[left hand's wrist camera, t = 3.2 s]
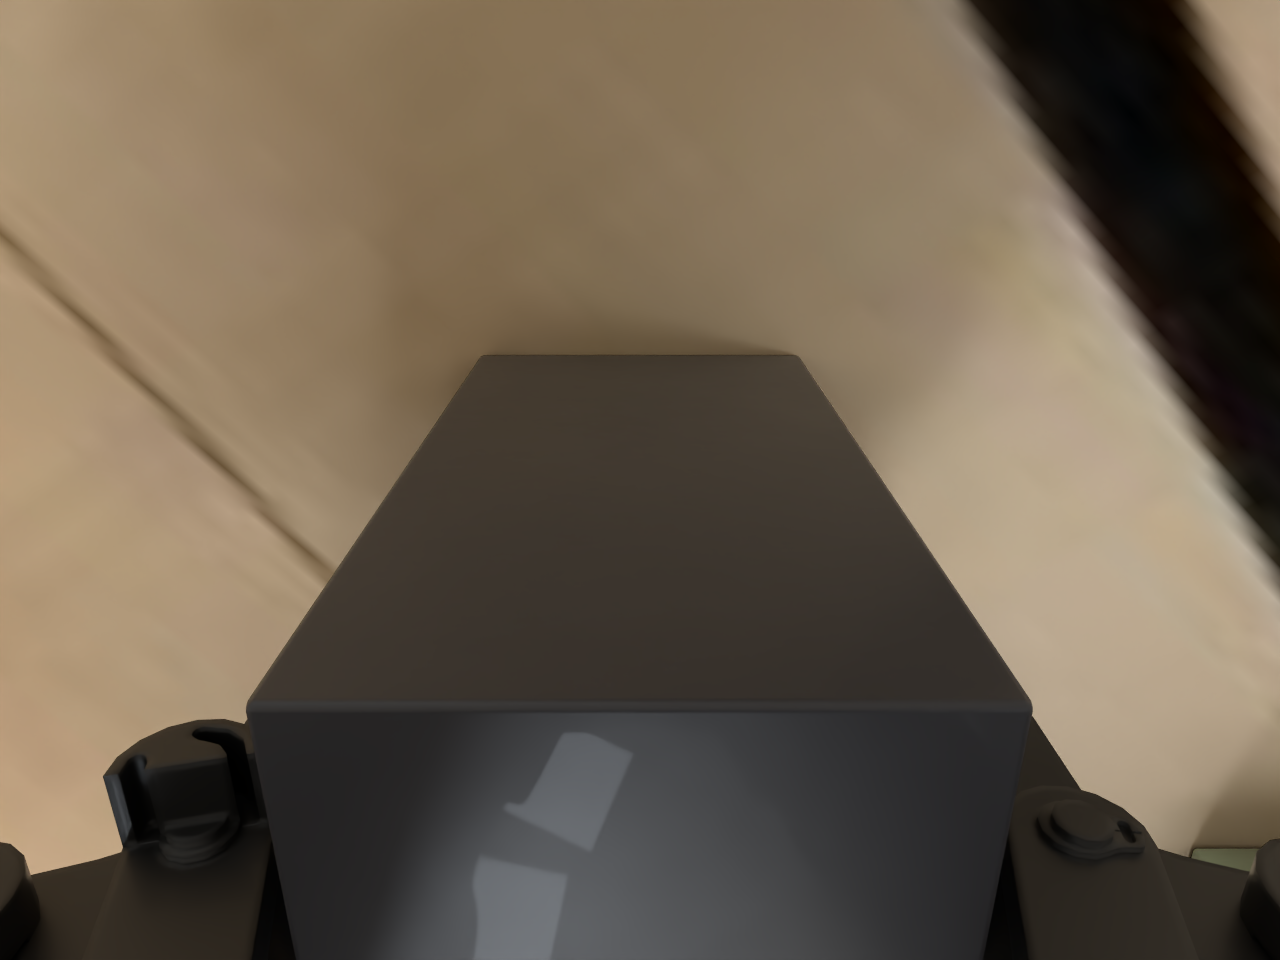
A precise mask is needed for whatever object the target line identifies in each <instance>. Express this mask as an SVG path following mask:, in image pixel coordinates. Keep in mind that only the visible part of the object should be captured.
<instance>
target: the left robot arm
mask: <svg viewBox="0 0 1280 960" xmlns="http://www.w3.org/2000/svg"><path fill="white" fill-rule="evenodd" d="M103 778H104V782H105V785H106V789H107V792H108V796H109V799H110V803H111V806H112V810H113V813H114V817H115V820H116V824H117V827H118V831H119V835H120V838H121V842H122V845H123V849H122V852H121V853H118V854H114V855H111V856H108V857H104V858H101V859H98V860H94V861H90V862H85V863H81V864H77V865H72V866H68V867H64V868H59V869H55V870H51V871H47V872H42V873H38V874H34V875H30V872H29V869H28V866H27V863H26V860H25V857H24V855H23V854H22V853H20V852H19V851H18V850H17V849H16V848H15V847H13V846H12V845H11V844H8V843H1V842H0V960H296V957H295V952H294V948H293V943H292V938H291V933H290V928H289V923H288V918H287V913H286V908H285V903H284V898H283V893H282V888H281V883H280V878H279V873H278V868H277V863H276V858H275V853H274V848H273V843H272V838H271V833H270V828H269V823H268V818H267V813H266V808H265V803H264V798H263V793H262V788H261V783H260V778H259V773H258V768H257V763H256V758H255V753H254V748H253V743H252V738H251V733H250V728H249V723H248V719H247V721H246V722H245V724H242V723H238V722H234V721H230V720H226V719H212V720H196V721H192V722H188V723H183V724H179V725H175V726H171V727H168V728H166V729H163V730H161V731H159V732H157V733H155V734H152V735H150V736H148V737H146V738H144V739H141V740H140V741H138V742H137V743H136V744H134V745H133V746H132V747H130V748H129V749H127V750H126V751H125V752H123V753H122V754H121V755H119V756H118V757H117V758H116V759H115V761H114V762H113V763H112V765H111V766H110V768H109V769H108V770H107V772H106V773H105V774H104V776H103ZM983 960H1280V839H1274V840H1270V841H1269V842H1267V843H1266V844H1265V845H1264V846H1263V847H1261V848H1260V849H1259V850H1258V851H1257V852H1256V855H1255V858H1254V861H1253V864H1252V867H1251V870H1250V872H1249V871H1245V870H1240V869H1236V868H1232V867H1227V866H1223V865H1219V864H1215V863H1210V862H1206V861H1202V860H1197V859H1193V858H1189V857H1184V856H1181V855H1177V854H1174V853H1171V852H1168V851H1164V850H1161V849H1158V848H1157V846H1156V844H1155V843H1154V841H1153V839H1152V838H1151V836H1150V835H1149V833H1148V832H1147V830H1146V828H1145V827H1144V826H1143V825H1142V824H1141V823H1140V822H1138V821H1137V820H1136V819H1135V818H1134V817H1133V816H1131V815H1130V814H1129V813H1128V812H1127V811H1125V810H1124V809H1123V808H1122V807H1120V806H1118V805H1116V804H1114V803H1112V802H1110V801H1108V800H1106V799H1104V798H1102V797H1100V796H1098V795H1096V794H1093V793H1090V792H1086V791H1082V790H1081V789H1080V788H1079V786H1078V784H1077V783H1076V781H1075V780H1074V778H1073V777H1072V775H1071V774H1070V772H1069V771H1068V769H1067V768H1066V766H1065V765H1064V763H1063V762H1062V760H1061V759H1060V757H1059V756H1058V754H1057V753H1056V751H1055V750H1054V748H1053V747H1052V745H1051V744H1050V742H1049V741H1048V739H1047V737H1046V736H1045V734H1044V733H1043V731H1042V730H1041V728H1040V727H1039V725H1038V724H1037V722H1036V721H1035V719H1034V718H1033V716H1032V717H1031V722H1030V727H1029V732H1028V737H1027V742H1026V747H1025V752H1024V757H1023V762H1022V767H1021V772H1020V777H1019V782H1018V787H1017V792H1016V797H1015V802H1014V807H1013V812H1012V817H1011V822H1010V827H1009V832H1008V837H1007V842H1006V847H1005V852H1004V857H1003V862H1002V867H1001V872H1000V877H999V882H998V887H997V892H996V897H995V902H994V907H993V912H992V917H991V922H990V927H989V932H988V937H987V942H986V947H985V952H984V957H983Z"/></svg>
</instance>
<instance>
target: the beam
mask: <svg viewBox="0 0 1280 960" xmlns="http://www.w3.org/2000/svg"><path fill="white" fill-rule="evenodd" d="M1032 712H1033V707H1032V703H1031V700H1030V699H1029V697H1028V696H1027V694H1026V693H1025V691H1024V690H1023V688H1022V687H1021V685H1020V684H1019V682H1018V681H1017V679H1016V678H1015V677H1014V675H1013V674H1012V672H1011V671H1010V669H1009V668H1008V666H1007V665H1006V663H1005V662H1004V660H1003V659H1002V657H1001V656H1000V654H999V653H998V651H997V650H996V648H995V647H994V645H993V644H992V642H991V641H990V639H989V638H988V636H987V635H986V634H985V632H984V631H983V629H982V628H981V626H980V625H979V623H978V622H977V620H976V619H975V617H974V616H973V614H972V613H971V611H970V610H969V608H968V607H967V605H966V604H965V602H964V601H963V599H962V598H961V596H960V595H959V594H958V592H957V591H956V589H955V588H954V586H953V585H952V583H951V582H950V580H949V579H948V577H947V576H946V574H945V573H944V571H943V570H942V568H941V567H940V565H939V564H938V562H937V561H936V559H935V558H934V556H933V555H932V554H931V552H930V551H929V549H928V548H927V546H926V545H925V543H924V542H923V540H922V539H921V537H920V536H919V534H918V533H917V531H916V530H915V528H914V527H913V525H912V524H911V522H910V521H909V519H908V518H907V516H906V515H905V514H904V512H903V511H902V509H901V508H900V506H899V505H898V503H897V502H896V500H895V499H894V497H893V496H892V494H891V493H890V491H889V490H888V488H887V487H886V485H885V484H884V482H883V481H882V479H881V478H880V476H879V475H878V474H877V472H876V471H875V469H874V468H873V466H872V465H871V463H870V462H869V460H868V459H867V457H866V456H865V454H864V453H863V451H862V450H861V448H860V447H859V445H858V444H857V442H856V441H855V439H854V438H853V436H852V435H851V433H850V432H849V431H848V429H847V428H846V426H845V425H844V423H843V422H842V420H841V419H840V417H839V416H838V414H837V413H836V411H835V410H834V408H833V407H832V405H831V404H830V402H829V401H828V399H827V398H826V396H825V395H824V393H823V392H822V391H821V389H820V388H819V386H818V385H817V383H816V382H815V380H814V379H813V377H812V376H811V374H810V373H809V371H808V370H807V368H806V367H805V365H804V364H803V362H802V361H801V359H800V358H799V357H798V356H796V355H484V356H481V357H480V359H479V360H478V362H477V363H476V365H475V366H474V368H473V369H472V370H471V372H470V373H469V375H468V376H467V378H466V379H465V381H464V382H463V384H462V385H461V387H460V388H459V390H458V391H457V393H456V394H455V396H454V397H453V399H452V400H451V401H450V403H449V404H448V406H447V407H446V409H445V410H444V412H443V413H442V415H441V416H440V418H439V419H438V421H437V422H436V424H435V425H434V427H433V428H432V430H431V431H430V433H429V434H428V435H427V437H426V438H425V440H424V441H423V443H422V444H421V446H420V447H419V449H418V450H417V452H416V453H415V455H414V456H413V458H412V459H411V461H410V462H409V464H408V465H407V466H406V468H405V469H404V471H403V472H402V474H401V475H400V477H399V478H398V480H397V481H396V483H395V484H394V486H393V487H392V489H391V490H390V492H389V493H388V495H387V496H386V497H385V499H384V500H383V502H382V503H381V505H380V506H379V508H378V509H377V511H376V512H375V514H374V515H373V517H372V518H371V520H370V521H369V523H368V524H367V526H366V527H365V528H364V530H363V531H362V533H361V534H360V536H359V537H358V539H357V540H356V542H355V543H354V545H353V546H352V548H351V549H350V551H349V552H348V554H347V555H346V557H345V558H344V559H343V561H342V562H341V564H340V565H339V567H338V568H337V570H336V571H335V573H334V574H333V576H332V577H331V579H330V580H329V582H328V583H327V585H326V586H325V588H324V589H323V591H322V592H321V593H320V595H319V596H318V598H317V599H316V601H315V602H314V604H313V605H312V607H311V608H310V610H309V611H308V613H307V614H306V616H305V617H304V619H303V620H302V622H301V623H300V624H299V626H298V627H297V629H296V630H295V632H294V633H293V635H292V636H291V638H290V639H289V641H288V642H287V644H286V645H285V647H284V648H283V650H282V651H281V653H280V654H279V655H278V657H277V658H276V660H275V661H274V663H273V664H272V666H271V667H270V669H269V670H268V672H267V673H266V675H265V676H264V678H263V679H262V681H261V682H260V684H259V685H258V686H257V688H256V689H255V691H254V692H253V694H252V695H251V697H250V698H249V700H248V702H247V706H246V713H247V718H248V723H249V728H250V733H251V738H252V743H253V748H254V753H255V758H256V763H257V768H258V773H259V778H260V783H261V788H262V793H263V798H264V803H265V808H266V813H267V818H268V823H269V828H270V833H271V838H272V843H273V848H274V853H275V858H276V863H277V868H278V873H279V878H280V883H281V888H282V893H283V898H284V903H285V908H286V913H287V918H288V923H289V928H290V933H291V938H292V943H293V948H294V952H295V957H296V960H983V957H984V952H985V947H986V942H987V937H988V932H989V927H990V922H991V917H992V912H993V907H994V902H995V897H996V892H997V887H998V882H999V877H1000V872H1001V867H1002V862H1003V857H1004V852H1005V847H1006V842H1007V837H1008V832H1009V827H1010V822H1011V817H1012V812H1013V807H1014V802H1015V797H1016V792H1017V787H1018V782H1019V777H1020V772H1021V767H1022V762H1023V757H1024V752H1025V747H1026V742H1027V737H1028V732H1029V727H1030V722H1031V717H1032Z"/></svg>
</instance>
